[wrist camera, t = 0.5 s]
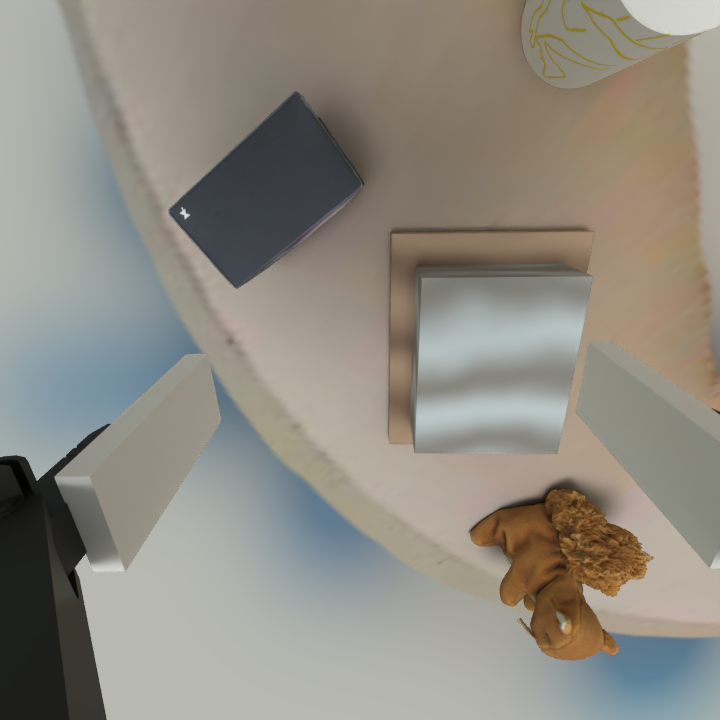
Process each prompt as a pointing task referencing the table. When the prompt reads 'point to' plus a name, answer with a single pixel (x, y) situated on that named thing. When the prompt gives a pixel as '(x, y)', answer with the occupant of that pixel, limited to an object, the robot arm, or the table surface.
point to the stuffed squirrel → (562, 568)
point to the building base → (485, 338)
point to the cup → (606, 35)
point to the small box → (268, 193)
